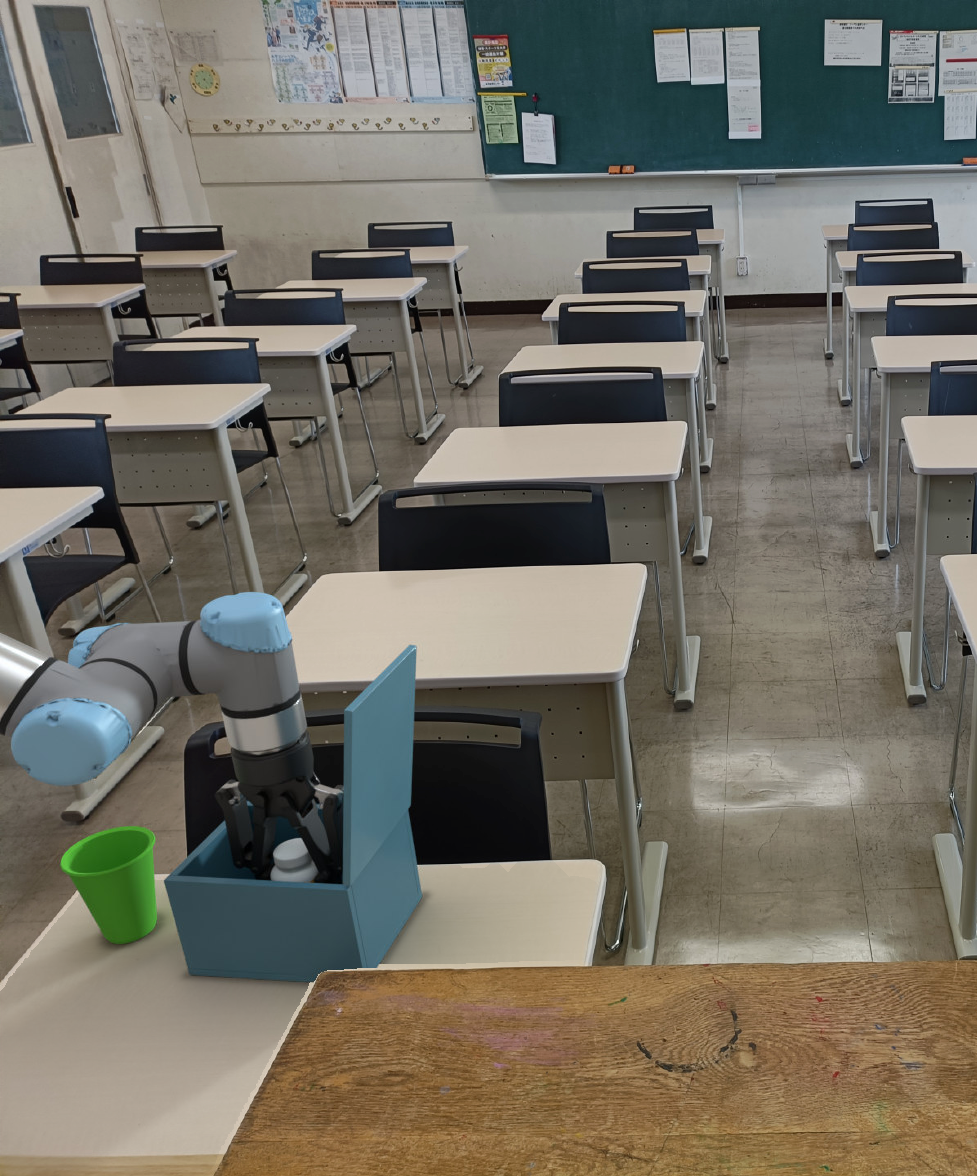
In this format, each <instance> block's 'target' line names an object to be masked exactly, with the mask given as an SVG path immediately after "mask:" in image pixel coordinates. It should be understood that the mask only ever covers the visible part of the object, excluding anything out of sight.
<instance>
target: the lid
mask: <svg viewBox="0 0 977 1176" xmlns="http://www.w3.org/2000/svg"><path fill="white" fill-rule="evenodd" d="M417 647H418V646H417V645H415V644H408V646H407V647H406V648H405V649H404V650H403V651H402V652H400V653H399V654H398V656H397V657H396V658H395V659H393V661H392V662H391V663H389V664H388V665H387V667H386V668H385V669H384V670H382V672H380V674H379V675H377V676H376V677H375V679H373V681H372V682H371V683H370V684H369V685H367V687H365V688H364V690H363V691H362V692H360V694H359V695H358V696H357V697H355V699H354V700H353V701H352V702H351V703H350V704H349V705H348V706H346V708H344V711H343V712H344V713H343V786H344V808H343V886H348V887H350V886H351V885H352V884H353V882H354V881H355V880H356V878H357V877H358V875H359V874H360V873H361V871H362V870H363V869H364V867H365V866H366V865H367V863H368V862H369V861H370V859H371V858H372V857H373V855H374V854H375V853H376V851H377V850H378V849H379V847H380V846H381V845H382V843H383V842H384V841H385V839H386V838H387V837H388V835H389V834H390V833H391V831H392V830H393V828H394V827H395V826H396V824H397V823H398V822H399V820H400V819H401V818H402V816H403V815H404V814H405V812H406V811H407V810H408V811H409V808H410V807H411V805H412V783H413V781H412V780H413V757H414V753H413V752H414V731H415V730H414V729H415V727H414V726H415V701H416V700H415V699H416V678H417V676H416V674H417V673H416V671H417V653H418V652H417V651H418V650H417V649H418V648H417Z"/></svg>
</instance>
